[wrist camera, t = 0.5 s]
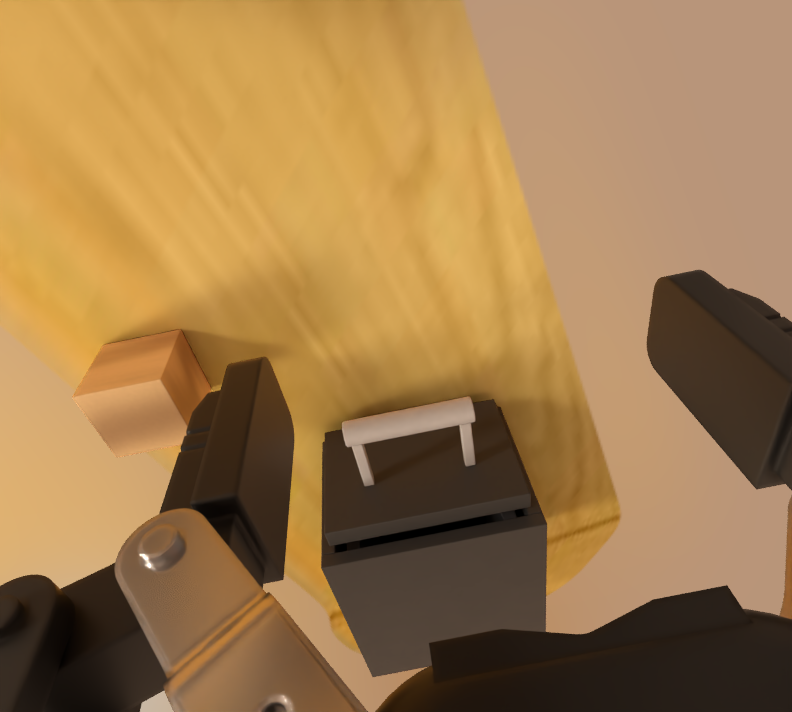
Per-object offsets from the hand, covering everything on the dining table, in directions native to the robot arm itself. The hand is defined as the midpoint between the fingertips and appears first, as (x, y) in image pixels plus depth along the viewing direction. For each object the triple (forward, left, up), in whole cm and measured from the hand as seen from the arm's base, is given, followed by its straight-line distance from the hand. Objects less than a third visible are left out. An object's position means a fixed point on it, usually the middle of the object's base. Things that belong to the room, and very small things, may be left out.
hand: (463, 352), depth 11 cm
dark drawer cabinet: (+26, -2, -17) cm, 32 cm away
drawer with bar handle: (+21, -2, -16) cm, 27 cm away
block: (+10, -16, -17) cm, 26 cm away
